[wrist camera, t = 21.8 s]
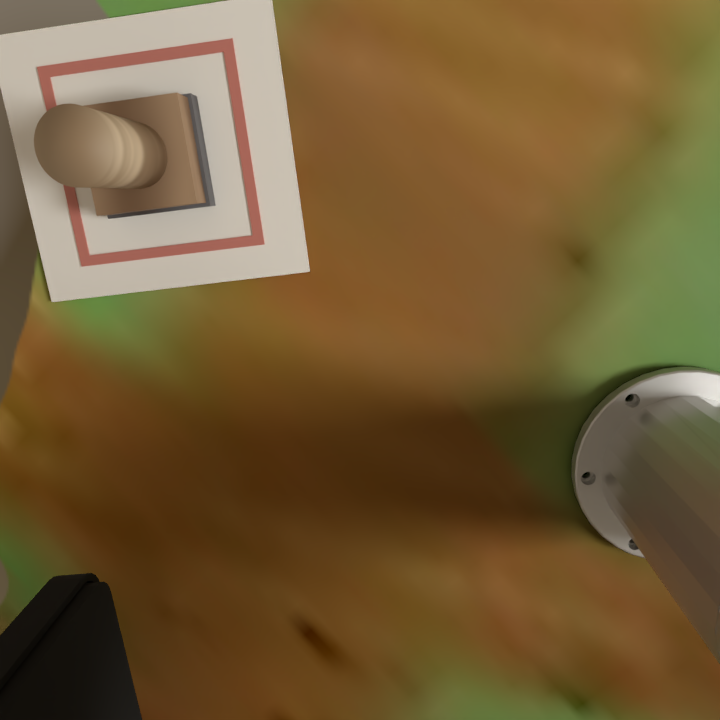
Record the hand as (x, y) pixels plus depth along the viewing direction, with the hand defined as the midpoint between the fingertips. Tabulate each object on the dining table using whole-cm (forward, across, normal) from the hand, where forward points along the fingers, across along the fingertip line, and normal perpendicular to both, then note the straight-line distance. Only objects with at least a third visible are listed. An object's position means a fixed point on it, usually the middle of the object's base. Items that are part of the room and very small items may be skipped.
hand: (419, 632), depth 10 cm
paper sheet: (+30, +13, -10) cm, 34 cm away
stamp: (+30, +13, -10) cm, 34 cm away
